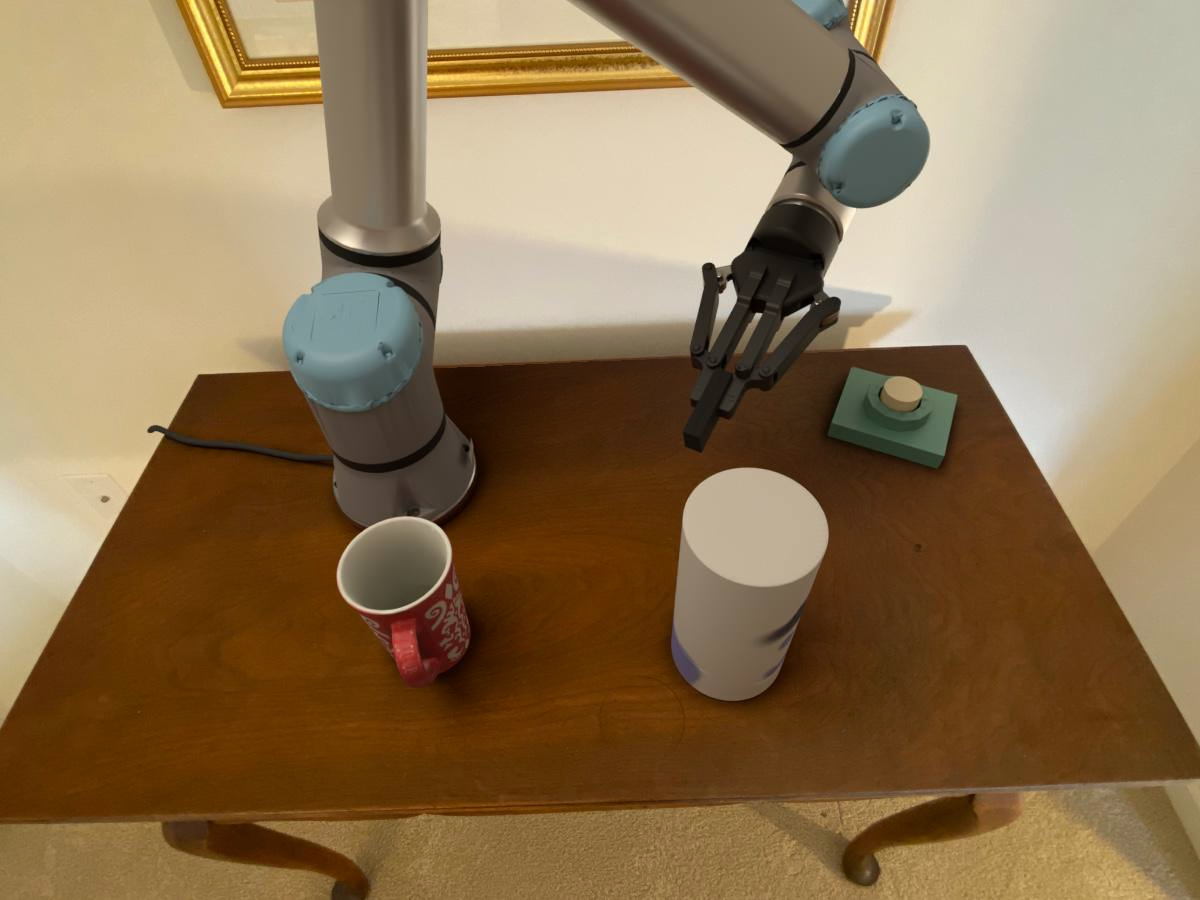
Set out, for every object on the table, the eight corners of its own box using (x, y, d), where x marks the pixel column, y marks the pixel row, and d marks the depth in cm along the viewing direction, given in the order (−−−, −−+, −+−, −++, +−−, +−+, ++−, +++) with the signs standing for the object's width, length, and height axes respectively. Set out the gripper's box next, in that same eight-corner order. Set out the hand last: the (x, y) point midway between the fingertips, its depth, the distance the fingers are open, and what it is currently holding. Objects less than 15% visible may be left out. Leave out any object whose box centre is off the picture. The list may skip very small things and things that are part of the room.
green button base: (827, 435, 81) (834, 411, 78) (847, 379, 86) (855, 354, 83) (937, 469, 77) (950, 445, 74) (951, 408, 83) (963, 383, 80)
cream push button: (876, 406, 78) (880, 395, 77) (884, 383, 81) (888, 372, 79) (914, 417, 77) (919, 406, 76) (920, 393, 80) (925, 382, 78)
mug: (381, 605, 68) (337, 526, 58) (475, 587, 69) (448, 506, 59) (382, 736, 60) (331, 671, 50) (488, 713, 61) (459, 645, 51)
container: (780, 711, 61) (829, 596, 45) (663, 690, 62) (673, 571, 47) (784, 607, 67) (829, 475, 52) (678, 590, 68) (691, 457, 53)
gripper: (865, 276, 66) (767, 490, 59) (734, 243, 71) (628, 436, 63) (878, 217, 60) (769, 449, 52) (733, 184, 64) (614, 393, 57)
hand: (692, 442), depth 58 cm, fingers closed
